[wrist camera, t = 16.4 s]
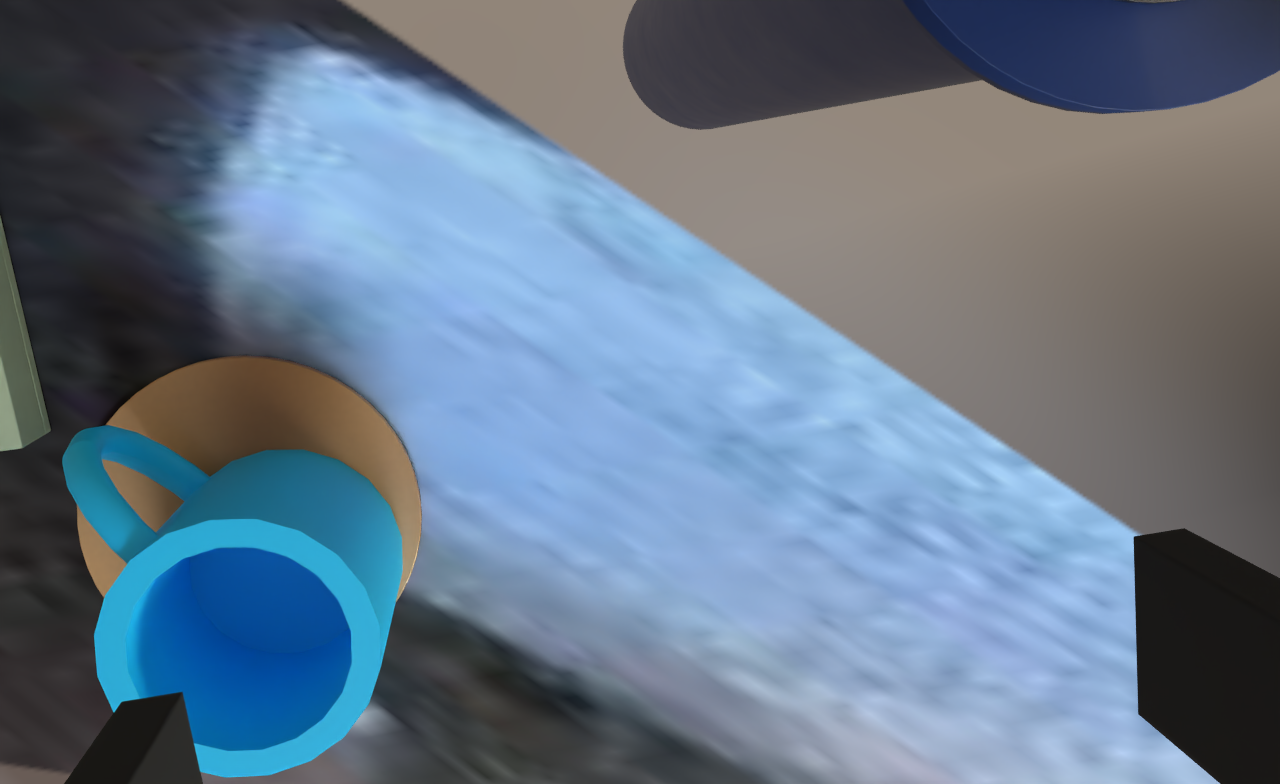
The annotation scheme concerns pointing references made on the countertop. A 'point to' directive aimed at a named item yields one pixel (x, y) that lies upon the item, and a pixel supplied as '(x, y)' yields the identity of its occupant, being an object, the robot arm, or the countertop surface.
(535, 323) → the countertop surface
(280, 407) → the coaster
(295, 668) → the mug
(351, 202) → the countertop surface
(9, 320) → the tray
